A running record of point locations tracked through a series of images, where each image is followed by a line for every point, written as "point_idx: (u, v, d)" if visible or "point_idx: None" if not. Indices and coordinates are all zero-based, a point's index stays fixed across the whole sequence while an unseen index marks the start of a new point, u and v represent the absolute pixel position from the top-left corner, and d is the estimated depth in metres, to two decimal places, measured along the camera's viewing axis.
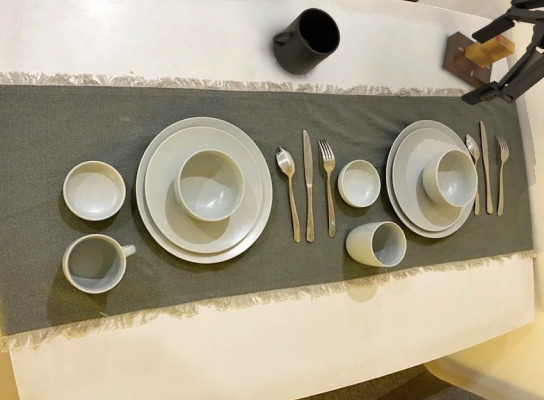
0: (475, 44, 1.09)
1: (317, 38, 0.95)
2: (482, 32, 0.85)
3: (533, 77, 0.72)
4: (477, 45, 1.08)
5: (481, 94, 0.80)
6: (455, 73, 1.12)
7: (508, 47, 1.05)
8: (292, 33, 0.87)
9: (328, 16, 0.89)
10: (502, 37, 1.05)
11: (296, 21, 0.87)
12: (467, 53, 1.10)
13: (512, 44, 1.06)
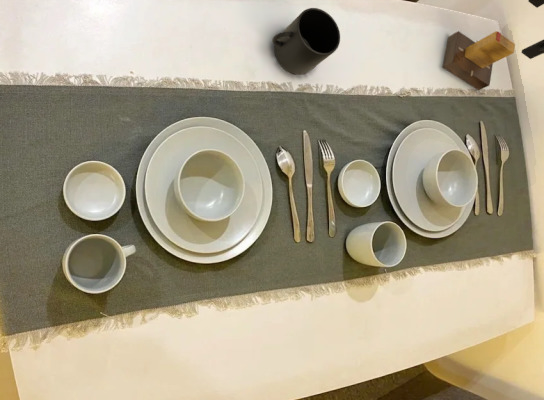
0: (475, 44, 1.09)
1: (317, 38, 0.95)
2: None
3: None
4: (477, 45, 1.08)
5: (541, 47, 0.94)
6: (455, 73, 1.12)
7: (508, 47, 1.05)
8: (292, 33, 0.87)
9: (328, 16, 0.89)
10: (502, 37, 1.05)
11: (296, 21, 0.87)
12: (467, 53, 1.10)
13: (512, 44, 1.06)
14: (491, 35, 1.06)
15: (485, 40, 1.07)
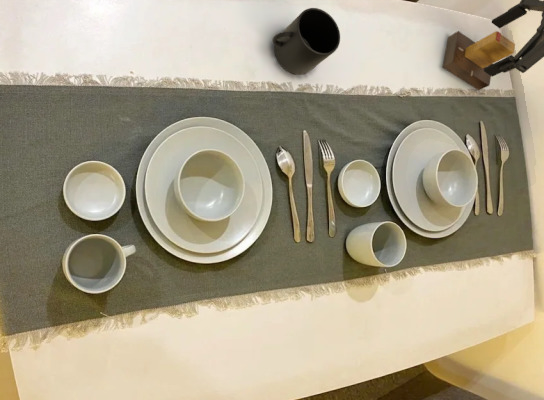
0: (475, 44, 1.09)
1: (317, 38, 0.95)
2: (500, 18, 1.08)
3: (542, 51, 0.94)
4: (477, 45, 1.08)
5: (500, 66, 1.02)
6: (455, 73, 1.12)
7: (508, 47, 1.05)
8: (292, 33, 0.87)
9: (328, 16, 0.89)
10: (502, 37, 1.05)
11: (296, 21, 0.87)
12: (467, 53, 1.10)
13: (512, 44, 1.06)
14: (491, 35, 1.06)
15: (485, 40, 1.07)
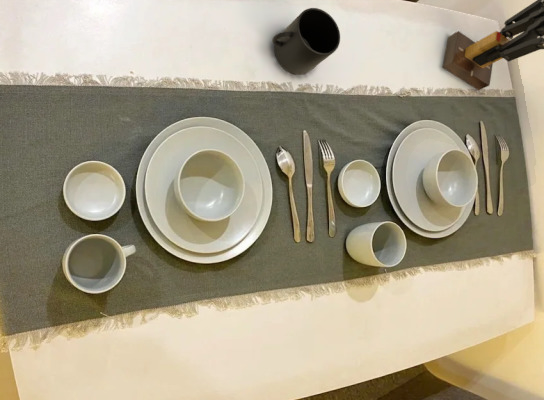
0: (475, 44, 1.09)
1: (317, 38, 0.95)
2: None
3: (525, 50, 0.99)
4: (477, 45, 1.08)
5: (488, 56, 1.07)
6: (455, 73, 1.12)
7: None
8: (292, 33, 0.87)
9: (328, 16, 0.89)
10: (502, 37, 1.05)
11: (296, 21, 0.87)
12: (467, 53, 1.10)
13: None
14: (491, 35, 1.06)
15: (485, 40, 1.07)
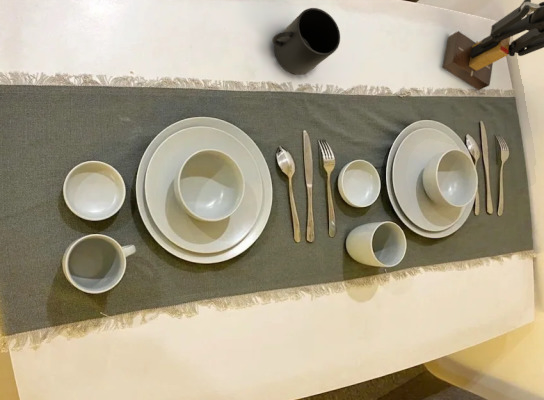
0: (481, 62, 1.09)
1: (317, 38, 0.95)
2: None
3: None
4: (485, 62, 1.08)
5: None
6: (455, 73, 1.12)
7: (508, 39, 1.06)
8: (292, 33, 0.87)
9: (328, 16, 0.89)
10: (502, 44, 1.05)
11: (296, 21, 0.87)
12: (477, 68, 1.11)
13: None
14: (496, 53, 1.05)
15: (492, 57, 1.06)
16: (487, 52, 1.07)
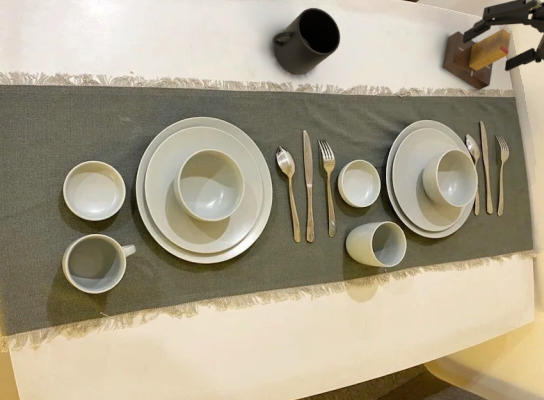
0: (481, 62, 1.09)
1: (317, 38, 0.95)
2: None
3: None
4: (485, 62, 1.08)
5: None
6: (455, 73, 1.12)
7: (508, 39, 1.06)
8: (292, 33, 0.87)
9: (328, 16, 0.89)
10: (502, 44, 1.05)
11: (296, 21, 0.87)
12: (477, 68, 1.11)
13: (504, 32, 1.06)
14: (496, 53, 1.05)
15: (492, 57, 1.06)
16: (487, 52, 1.07)
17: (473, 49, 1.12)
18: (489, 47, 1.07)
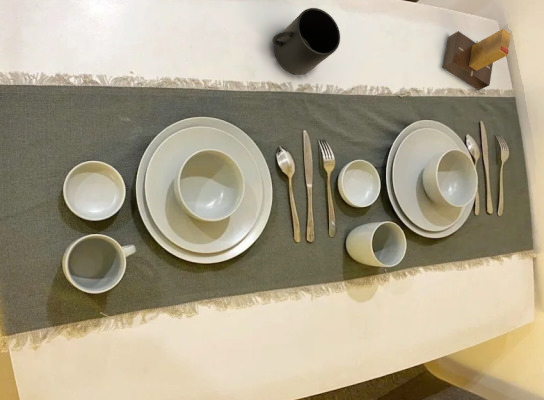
0: (481, 62, 1.09)
1: (317, 38, 0.95)
2: None
3: None
4: (485, 62, 1.08)
5: None
6: (455, 73, 1.12)
7: (508, 39, 1.06)
8: (292, 33, 0.87)
9: (328, 16, 0.89)
10: (502, 44, 1.05)
11: (296, 21, 0.87)
12: (477, 68, 1.11)
13: (504, 32, 1.06)
14: (496, 53, 1.05)
15: (492, 57, 1.06)
16: (487, 52, 1.07)
17: (473, 49, 1.12)
18: (489, 47, 1.07)
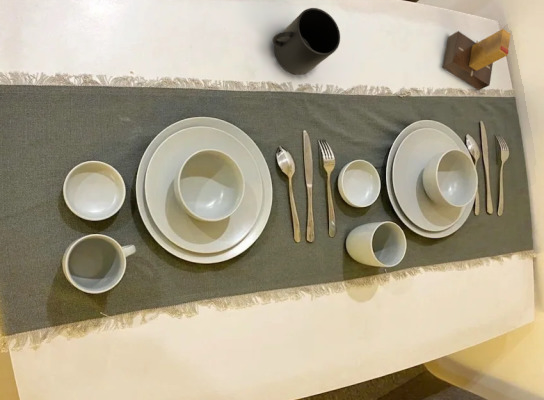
0: (481, 62, 1.09)
1: (317, 38, 0.95)
2: None
3: None
4: (485, 62, 1.08)
5: None
6: (455, 73, 1.12)
7: (508, 39, 1.06)
8: (292, 33, 0.87)
9: (328, 16, 0.89)
10: (502, 44, 1.05)
11: (296, 21, 0.87)
12: (477, 68, 1.11)
13: (504, 32, 1.06)
14: (496, 53, 1.05)
15: (492, 57, 1.06)
16: (487, 52, 1.07)
17: (473, 49, 1.12)
18: (489, 47, 1.07)
